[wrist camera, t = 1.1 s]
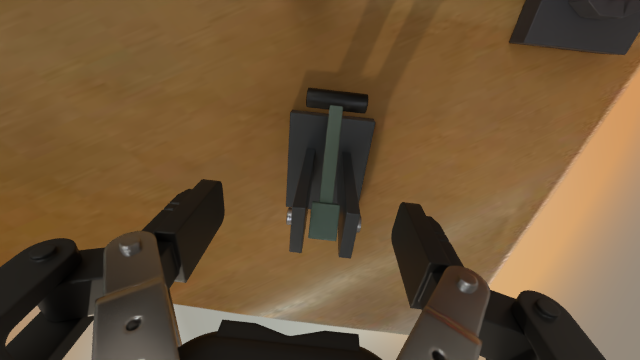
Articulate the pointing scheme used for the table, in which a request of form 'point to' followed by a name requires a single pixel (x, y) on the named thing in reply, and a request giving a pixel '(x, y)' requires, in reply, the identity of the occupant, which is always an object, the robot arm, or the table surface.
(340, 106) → the lever
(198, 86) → the table surface
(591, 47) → the button block
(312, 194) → the bracket
